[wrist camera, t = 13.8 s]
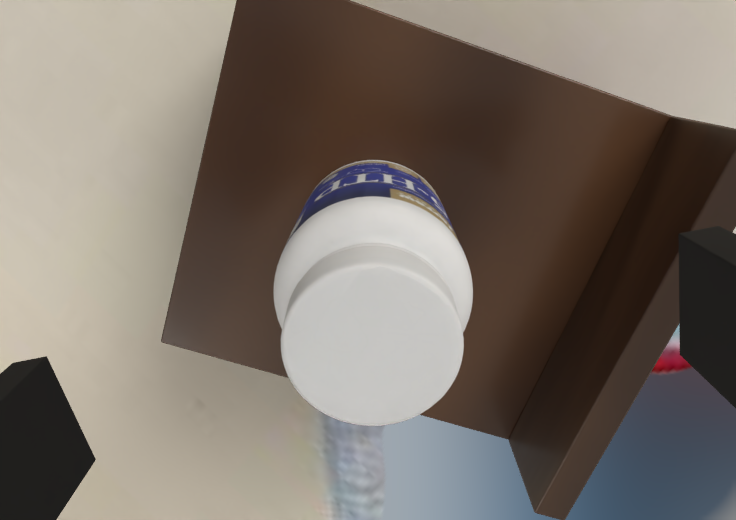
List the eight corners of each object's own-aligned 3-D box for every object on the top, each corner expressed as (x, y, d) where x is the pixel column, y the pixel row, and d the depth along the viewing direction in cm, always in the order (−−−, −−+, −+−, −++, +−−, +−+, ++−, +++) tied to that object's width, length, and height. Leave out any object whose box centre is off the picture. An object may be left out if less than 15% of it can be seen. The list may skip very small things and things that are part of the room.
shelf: (214, 268, 29) (116, 402, 18) (282, -10, 25) (209, -64, 13) (494, 352, 31) (565, 521, 20) (608, 106, 26) (784, 144, 15)
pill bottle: (455, 164, 19) (520, 247, 11) (435, 301, 21) (477, 461, 13) (303, 150, 19) (253, 222, 11) (296, 288, 21) (247, 442, 13)
